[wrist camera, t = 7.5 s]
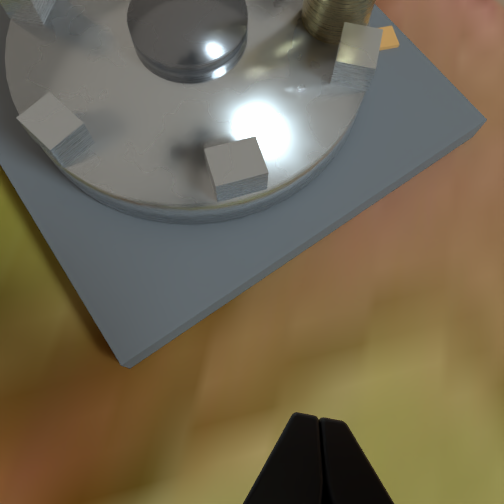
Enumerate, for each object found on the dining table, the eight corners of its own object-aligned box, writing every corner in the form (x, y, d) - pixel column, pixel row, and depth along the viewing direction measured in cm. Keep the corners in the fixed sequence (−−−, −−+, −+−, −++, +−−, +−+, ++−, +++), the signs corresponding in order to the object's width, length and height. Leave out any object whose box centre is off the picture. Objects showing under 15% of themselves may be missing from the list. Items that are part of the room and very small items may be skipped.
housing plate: (472, 136, 24) (489, 117, 23) (129, 368, 20) (120, 364, 19) (247, -101, 29) (247, -131, 27) (-63, 50, 25) (-84, 26, 24)
